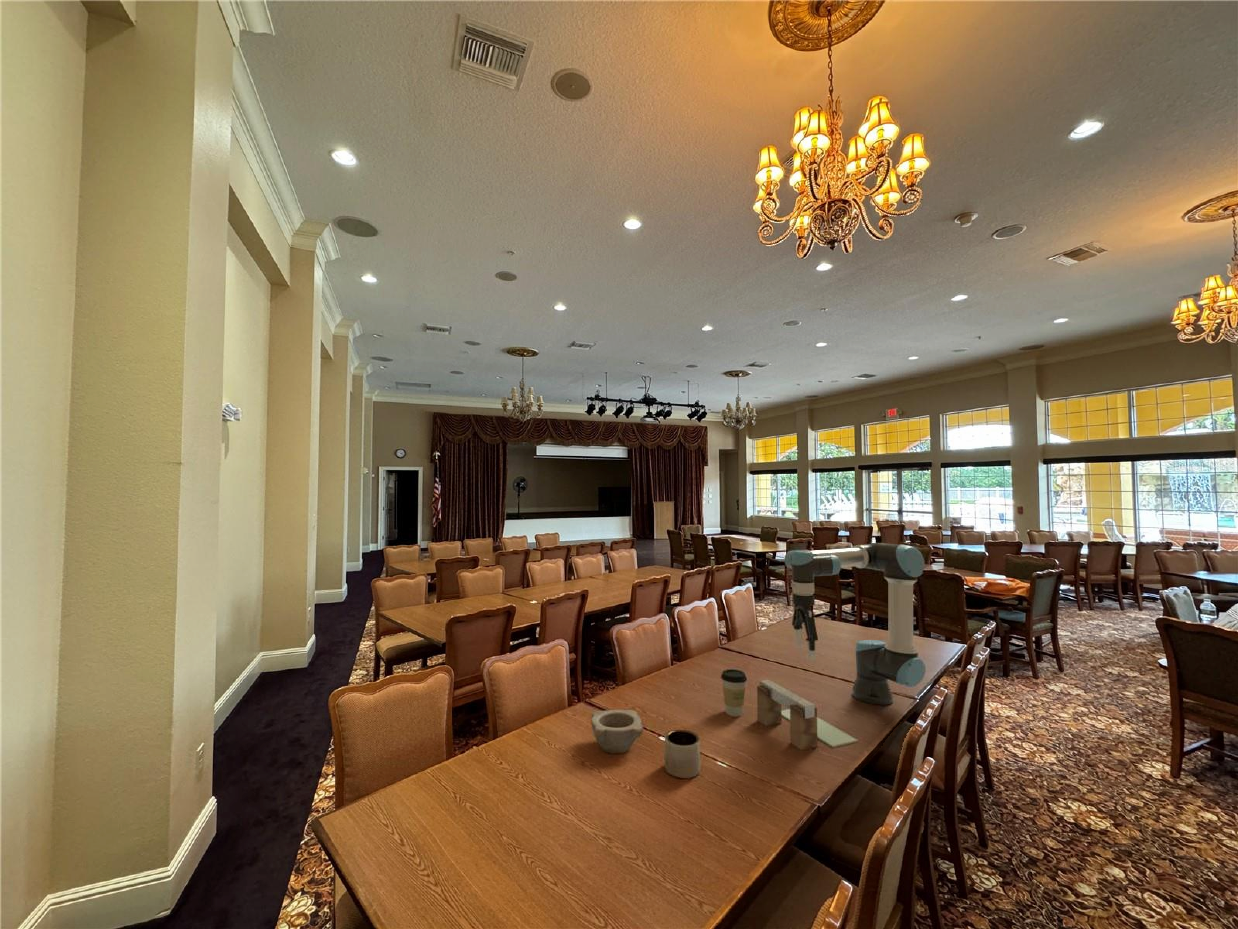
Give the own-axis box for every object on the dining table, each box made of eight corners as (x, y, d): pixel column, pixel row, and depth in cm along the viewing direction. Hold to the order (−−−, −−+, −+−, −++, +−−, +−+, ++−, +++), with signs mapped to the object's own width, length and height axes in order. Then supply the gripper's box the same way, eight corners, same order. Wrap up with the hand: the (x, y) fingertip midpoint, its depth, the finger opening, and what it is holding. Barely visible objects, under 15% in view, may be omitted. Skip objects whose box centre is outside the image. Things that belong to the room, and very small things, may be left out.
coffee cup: (748, 719, 183) (747, 678, 184) (721, 717, 185) (721, 676, 186) (746, 708, 193) (746, 669, 194) (721, 706, 195) (720, 667, 196)
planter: (677, 784, 142) (677, 749, 143) (657, 765, 152) (657, 733, 152) (707, 774, 147) (707, 741, 148) (686, 757, 157) (686, 726, 157)
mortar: (638, 734, 172) (638, 707, 172) (644, 759, 155) (644, 729, 156) (590, 735, 170) (590, 708, 171) (591, 761, 154) (591, 731, 154)
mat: (799, 708, 193) (799, 707, 193) (857, 742, 167) (857, 740, 167) (777, 713, 189) (776, 711, 189) (832, 747, 163) (832, 745, 163)
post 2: (806, 739, 168) (806, 702, 169) (817, 746, 164) (816, 708, 165) (790, 743, 166) (790, 705, 167) (801, 750, 161) (800, 711, 162)
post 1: (772, 717, 185) (772, 683, 186) (781, 723, 181) (781, 688, 181) (757, 720, 183) (757, 686, 184) (766, 726, 178) (765, 691, 179)
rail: (759, 691, 184) (759, 681, 185) (768, 690, 186) (768, 679, 186) (805, 718, 162) (804, 706, 162) (814, 716, 163) (814, 704, 164)
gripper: (782, 587, 190) (784, 642, 189) (804, 600, 166) (806, 664, 164) (802, 587, 190) (803, 642, 189) (826, 601, 165) (828, 665, 164)
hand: (804, 653), depth 177 cm, fingers open, 13 cm apart
